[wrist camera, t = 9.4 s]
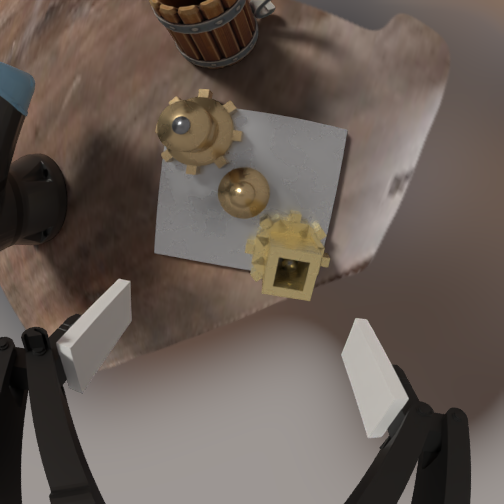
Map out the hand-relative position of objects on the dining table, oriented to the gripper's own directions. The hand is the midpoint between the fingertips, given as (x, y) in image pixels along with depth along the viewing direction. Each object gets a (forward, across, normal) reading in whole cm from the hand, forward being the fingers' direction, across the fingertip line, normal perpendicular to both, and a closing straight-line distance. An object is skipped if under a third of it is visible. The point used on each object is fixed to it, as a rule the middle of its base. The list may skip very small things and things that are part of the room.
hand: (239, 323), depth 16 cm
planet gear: (+22, +5, -2) cm, 22 cm away
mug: (+24, -7, +26) cm, 36 cm away
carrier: (+23, -2, +4) cm, 23 cm away
